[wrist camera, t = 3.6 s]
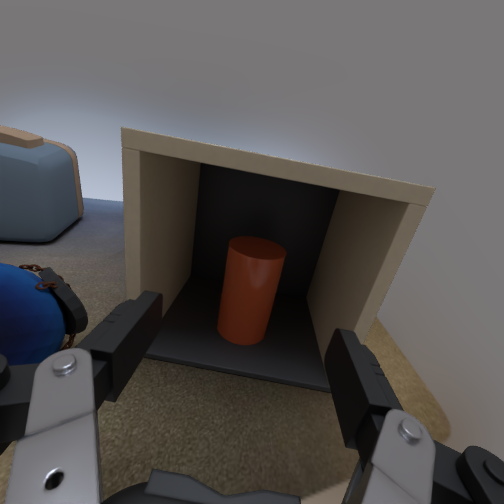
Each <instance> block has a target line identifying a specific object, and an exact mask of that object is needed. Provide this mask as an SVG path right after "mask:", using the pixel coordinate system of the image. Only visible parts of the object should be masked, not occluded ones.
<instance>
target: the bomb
mask: <svg viewBox="0 0 504 504" xmlns="http://www.w3.org/2000/svg"><path fill="white" fill-rule="evenodd" d="M24 266H26V267H24ZM33 266H35V267H37V268H35V269H36V270H33ZM24 269H29V270H30V271H34V272H37V271H40V270H41V272H39V273H38V274H39V276H40V277H41V278H42V279H41V278H39V277H38V276H36V275H35V274H33V273H31V272H29V271H26V270H24ZM87 324H88V317H87V312H86V310H85V308H84V306H83V304H82V302H81V301H80V300H79V298H78V297H77V296H76V294H75V293H74V292H73V291H72V290H71V288H70V285H69V284H67V283H65V282H64V280H63V278H62V277H61V276H59V275H57V274H56V273H55V272H54V271H53V270H52V269H51V268H50V267H47V268H41V267H40V266H38V265H20V266H19V268H18V267H16V266H13V265H8V264H2V263H0V354H2V355H4V356H5V357H6V359H7V362H8V365H9V366H12V365H24V364H37V363H42V362H43V361H44V360H45V359H46V358H48V357H49V356H51V355H53V354H55V353H57V352H59V350H60V348H61V345H62V342H63V339H64V336H65V334H68V335H70V337H69V342H67V343H66V344H65V345H64V347H63V348H62V349H61V350H60V351H62V350H66V349H70V347H71V345H72V344H73V342H74V337H75V335H76V333H80V332H82V331H84V330H85V329H86V326H87ZM72 334H74V335H72ZM71 340H72V341H71ZM67 345H68V346H69V347H66V346H67Z"/></svg>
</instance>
